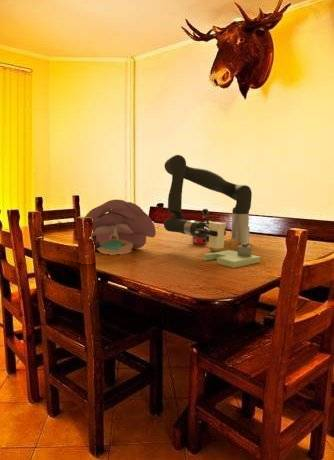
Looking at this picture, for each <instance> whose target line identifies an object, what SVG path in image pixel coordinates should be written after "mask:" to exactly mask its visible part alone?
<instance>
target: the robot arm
mask: <svg viewBox="0 0 334 460" xmlns="http://www.w3.org/2000/svg"><path fill="white" fill-rule="evenodd" d="M164 170H165V172H167V174H169V175H171V177H172V178H171V185H170V188H169V192H168V197H167V212H168V213H170V214H171V215H172V217H168V218H166V219H165V220H164V222H163V228H164V229H165V230H166V231H167V232H173V233H178V234H182V235H187V236H190V237H192V238H193V237H198V238H203V237H204V236H218V232H217V231H212V230H209V226H207V225H206V224H205V223H204V222H205V221H199V220H189V219H184V215H183V210H182V203H183V201H182V199H183V198H182V195H183V188H184V187H183V186H184V180H186V181H189V182H192V183H194V184H196V185H198V186H201V187H202V188H205V189H206V190H207V189H208V190H211V191H213V192H217V193H220V194H222V195H225V196H227V197H228V198H230V199H232V200H234V201H236V203H235V207H233V208H232V214H231V215H232V216H231V217H232V218H231V238H232V239H235V240H236V241H239V242H240V243H245V244H247V245H249V244H250V226H249V223H250V222H249V219H250V217H249V216H250V210H251V207H252V197H253V196H252V194H253V193H252V189H251V187H250V186H249V185H246V184H236V183H233V182H229V181H227V180H225V178H223V177H222V176H221V175H219V174H217V173H215V172H214V171H211V170H209V169H204V168H199V167H191V166H189V165H187V160H186V158H185V157H184V156H183V155H180V154H175V155H173V156H171V157H169V158H168V159H166V161H165V163H164ZM226 235H227V230H225V231H224V237H225V236H226Z"/></svg>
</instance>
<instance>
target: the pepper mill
mask: <svg viewBox="0 0 334 460" xmlns="http://www.w3.org/2000/svg"><path fill="white" fill-rule="evenodd" d="M201 212H202V213H203V215H202V218H206V220H205V221H203V222H204V223H205V224H206V225H207V226H209V223H210V222H214V221H213V220H209V219H210V218H209V216H210V213H209V209H208V208H203V209H202V210H201ZM207 242H209V236H207Z"/></svg>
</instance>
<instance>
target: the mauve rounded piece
mask: <svg viewBox="0 0 334 460" xmlns="http://www.w3.org/2000/svg"><path fill="white" fill-rule="evenodd" d="M85 217H91V218H92V219H93V233H92V239H93V242H94V245H95V250H94V251H96V250H97V251H98V252H99V253H101V254H103V255H107V254H110V255H109V256H117V255H116V254H120V255H125V254H129V253H131V252H133V249H134V248H137V249H140V248H143V247H144V246H145V244H146V243H147V237H148V238H155V237H156V235H157V233H156V232H157V231H156V226H155V224H154V222H153V220H152V218H151V217H150V215H148V214H147V213H146V212H145V211H144V209H143V208H141V207H140V206H139V205H138V204H135V203H133V202H131V201H130V202H129V201H125V200H122V199H111V200H108V201H106V202H103V204H100V205H99V206H96V207H94V208H91V210H89V211H88V212H87V213H86V215H85V216H84V218H85Z"/></svg>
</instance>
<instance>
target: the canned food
mask: <svg viewBox="0 0 334 460" xmlns="http://www.w3.org/2000/svg"><path fill="white" fill-rule="evenodd" d="M207 242H208V241H207V236H204V237H203V238H198V237H193V236H192V244H193V245H195V246H205V245H206V244H207Z"/></svg>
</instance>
